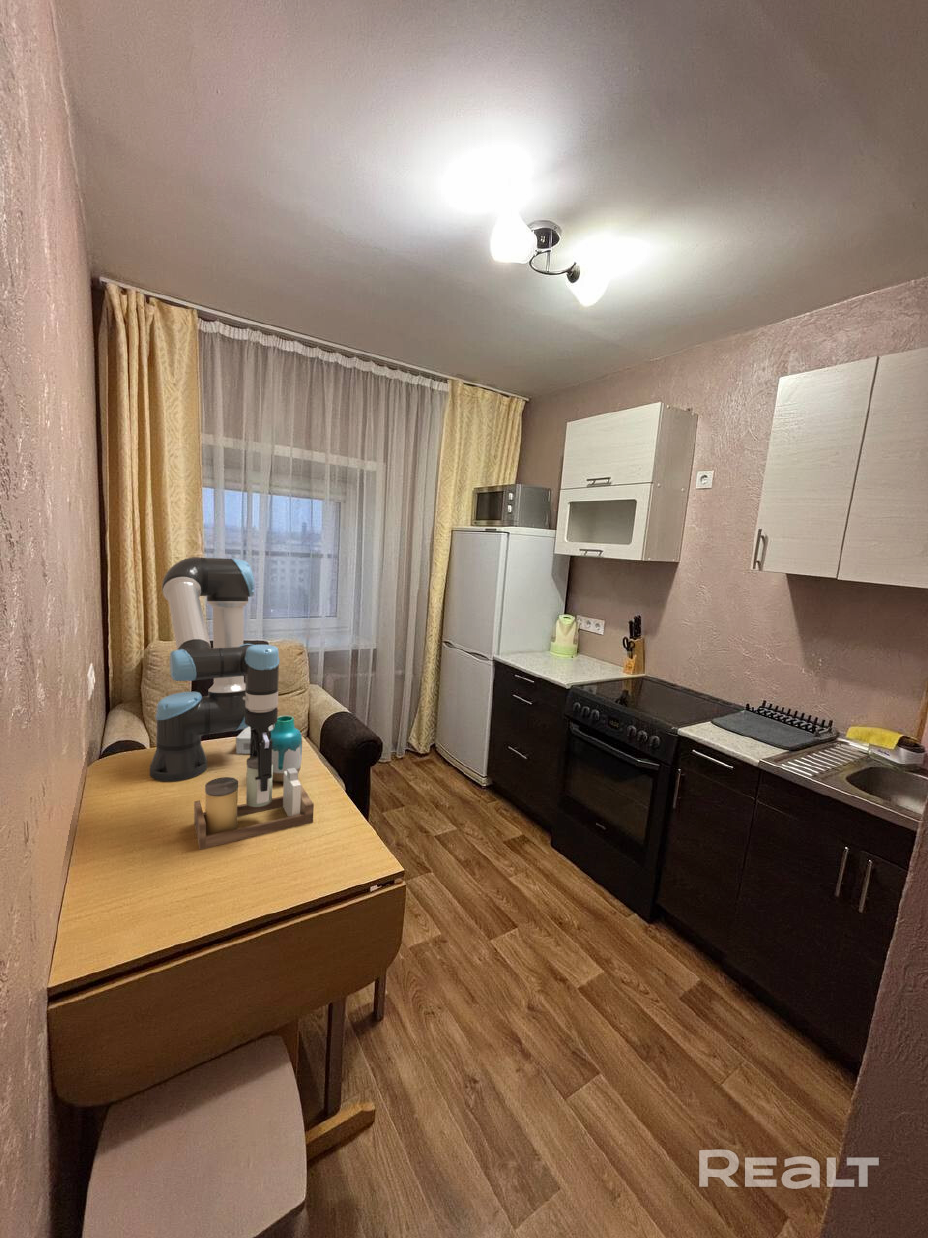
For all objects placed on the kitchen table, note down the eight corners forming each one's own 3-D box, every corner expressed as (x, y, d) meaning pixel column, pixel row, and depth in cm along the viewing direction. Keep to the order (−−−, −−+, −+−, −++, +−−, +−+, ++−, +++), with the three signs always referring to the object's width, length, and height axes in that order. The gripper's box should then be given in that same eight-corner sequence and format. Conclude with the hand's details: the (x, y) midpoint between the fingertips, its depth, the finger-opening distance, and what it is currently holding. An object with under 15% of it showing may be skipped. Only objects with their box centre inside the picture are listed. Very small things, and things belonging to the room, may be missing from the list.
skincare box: (235, 737, 161) (249, 721, 176) (235, 755, 162) (249, 737, 177) (262, 737, 163) (273, 721, 177) (262, 755, 164) (273, 737, 178)
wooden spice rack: (194, 823, 122) (194, 801, 121) (300, 800, 137) (300, 780, 136) (199, 849, 112) (199, 825, 112) (313, 822, 127) (313, 800, 126)
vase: (306, 773, 153) (309, 714, 151) (291, 789, 143) (293, 726, 140) (274, 769, 154) (276, 710, 152) (257, 784, 144) (258, 722, 141)
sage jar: (243, 798, 125) (244, 757, 124) (269, 793, 128) (270, 753, 127) (248, 809, 120) (249, 766, 118) (274, 803, 123) (275, 762, 122)
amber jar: (203, 827, 121) (203, 780, 120) (234, 820, 125) (235, 775, 124) (206, 842, 115) (207, 793, 114) (239, 834, 119) (240, 787, 118)
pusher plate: (282, 806, 133) (284, 764, 131) (290, 804, 134) (291, 763, 132) (291, 823, 125) (293, 779, 124) (299, 821, 126) (301, 777, 125)
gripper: (238, 698, 127) (237, 783, 130) (253, 722, 111) (251, 817, 114) (268, 695, 131) (266, 777, 134) (287, 718, 115) (284, 810, 118)
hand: (259, 795), depth 124 cm, fingers closed on sage jar, 6 cm apart
